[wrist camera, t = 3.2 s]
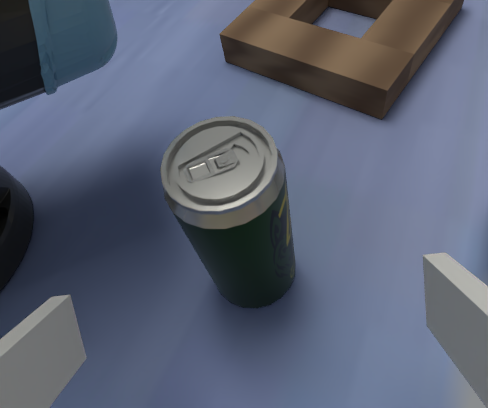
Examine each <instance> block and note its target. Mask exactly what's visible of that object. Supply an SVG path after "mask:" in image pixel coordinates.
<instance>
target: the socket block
mask: <svg viewBox="0 0 488 408" xmlns="http://www.w3.org/2000/svg"><path fill="white" fill-rule="evenodd" d="M463 2H464V0H255V1H254V2H253V3H252V4H251V5H250V6H248V7H247V8H246V9H245V10H244V11H243V12H242V13H241V14H240V15H239V16H238V17H237V18H236V19H235V20H234V21H233V22H232V23H231V24H229V25H228V26H227V27H226V28H225V29H224V30H223V31H222V32H221V33H220V39H221V43H222V47H223V52H224V56H225V60H226V62H228V63H231V64H234V65H237V66H239V67H242V68H245V69H247V70H250V71H253V72H255V73H258V74H261V75H263V76H266V77H269V78H271V79H274V80H277V81H280V82H282V83H285V84H288V85H290V86H293V87H296V88H298V89H301V90H304V91H306V92H309V93H312V94H314V95H317V96H320V97H322V98H325V99H328V100H331V101H333V102H336V103H339V104H341V105H344V106H347V107H349V108H352V109H355V110H357V111H360V112H363V113H365V114H368V115H371V116H374V117H376V118H379V119H383V117H384V116H385V114H386V113H387V112H388V110H389V109H390V107H391V106H392V105H393V103H394V102H395V100H396V99H397V98H398V96H399V95H400V93H401V92H402V91H403V89H404V88H405V86H406V85H407V84H408V82H409V81H410V79H411V78H412V77H413V75H414V74H415V72H416V71H417V70H418V68H419V67H420V65H421V64H422V62H423V61H424V60H425V58H426V57H427V55H428V54H429V53H430V51H431V50H432V48H433V47H434V46H435V44H436V43H437V41H438V40H439V39H440V37H441V36H442V34H443V33H444V32H445V30H446V29H447V27H448V26H449V25H450V23H451V22H452V20H453V19H454V18H455V16H456V15H457V13H458V12H459V11H460V9H461V8H462V5H463ZM328 6H329V7H333V8H337V9H341V10H345V11H348V12H352V13H356V14H360V15H364V16H368V17H371V18H375V19H377V20H376V21H375V22H374V23H373V25H372V26H371V27H370V28H369V29H368V31H367V32H366V33H365V34H364V35H363V37H362V38H361V39H360V38H357V37H353V36H350V35H346V34H343V33H339V32H336V31H333V30H329V29H326V28H322V27H319V26H315V25H312V23H313V22H314V21H315V20H316V19H317V18H318V17H319V16H320V15H321V14H322V12H323V11H324V10H325V9H326V8H327V7H328Z"/></svg>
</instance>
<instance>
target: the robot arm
mask: <svg viewBox="0 0 488 408" xmlns="http://www.w3.org/2000/svg"><path fill="white" fill-rule="evenodd" d="M116 45H117V30H116V26H115V22H114V18H113V14H112V11H111V7H110V4H109V1H108V0H0V110H1V109H3V108H6V107H8V106H11V105H14V104H16V103H19V102H21V101H24V100H27V99H29V98H32V97H34V96H37V95H40V94H42V93H46V94H47V95H50V94H53V93H55V92H56V90H57V88H58V87H59V86H61V85H63V84H65V83H68V82H70V81H72V80H75V79H77V78H79V77H81V76H84V75H86V74H88V73H90V72H93V71H95V70H97V69H99V68H101V67H103V66H104V65H106V64H107V63H108V62H109V60H110V59H111V58H112V56H113V54H114V52H115V49H116ZM32 228H33V207H32V202H31V199H30V197H29V194H28V193H27V191H26V189H25V188H24V187H23V186H22V185H21V183H20V182H18V181H17V180H16V179H15V178H14V177H13V176H12V175H11V174H10V173H9V172H7V171H6V170H5V169H4V168H3V167H1V166H0V290H1V289H2V288H3V287H4V286H5V284H6V283H7V282H8V281H9V279H10V278H11V276H12V275H13V273H14V272H15V270H16V269H17V267H18V265H19V264H20V262H21V260H22V258H23V256H24V254H25V251H26V249H27V246H28V244H29V241H30V237H31V233H32ZM423 268H424V286H425V304H426V322H427V327H428V328H429V330H430V331H431V332H432V334H433V335H434V337H435V338H436V339H437V341H438V342H439V343H440V345H441V346H442V347H443V349H444V350H445V352H446V353H447V354H448V356H449V357H450V358H451V360H452V361H453V362H454V364H455V365H456V367H457V368H458V369H459V371H460V372H461V373H462V375H463V376H464V378H465V379H466V380H467V382H468V383H469V384H470V386H471V387H472V388H473V390H474V391H475V393H476V394H477V395H478V397H479V398H480V399H481V401H482V402H483V403H484V405H485V406H486V408H488V286H487V285H485V284H484V283H483V282H482V281H480V280H479V279H478V278H477V277H475V276H474V275H473V274H472V273H470V272H469V271H468V270H467V269H465V268H464V267H463V266H462V265H460V264H459V263H458V262H457V261H455V260H454V259H453V258H452V257H450V256H449V255H448V254H447V253H437V254H428V255H423ZM86 359H87V357H86V353H85V350H84V346H83V342H82V338H81V334H80V330H79V326H78V323H77V319H76V315H75V311H74V307H73V303H72V299H71V295H62V296H53V297H51V298H49V299H48V300H47V301H46V302H45V303H43V304H42V305H41V306H40V307H39V308H37V309H36V310H35V311H34V312H32V313H31V314H30V315H29V316H28V317H26V318H25V319H24V320H23V321H22V322H20V323H19V324H18V325H17V326H16V327H14V328H13V329H12V330H11V331H10V332H8V333H7V334H6V335H5V336H4V337H2V338H1V339H0V408H49V407H50V406H51V405H52V403H53V402H54V401H55V399H56V398H57V397H58V395H59V394H60V393H61V392H62V390H63V389H64V388H65V386H66V385H67V384H68V382H69V381H70V380H71V378H72V377H73V376H74V374H75V373H76V372H77V370H78V369H79V368H80V366H81V365H82V364H83V363H84V361H85V360H86Z"/></svg>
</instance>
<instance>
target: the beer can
mask: <svg viewBox="0 0 488 408" xmlns="http://www.w3.org/2000/svg"><path fill="white" fill-rule="evenodd" d="M160 171H161V178H162V184H163V189H164V197H165V200H166V202H167V203H168V205H169V207H170V209H171V210H172V212H173V214H174V215H175V217H176V219H177V220H178V222H179V224H180V225H181V227H182V229H183V231H184V232H185V234H186V236H187V237H188V239H189V241H190V242H191V244H192V246H193V247H194V249H195V251H196V252H197V254H198V256H199V257H200V259H201V261H202V263H203V264H204V266H205V268H206V269H207V271H208V273H209V274H210V276H211V278H212V279H213V281H214V283H215V284H216V286H217V288H218V290H219V291H220V293H221V295H223V296H224V297H225V298H226V299H227V300H228V301H230V302H231V303H233V304H236V305H238V306H241V307H243V308H260V307H263V306H267V305H271V304H272V303H274V302H275V301H277V300H278V299H280V298H281V297H282V296H283V295H284V294H285V293H286V292H287V290H288V289H289V288H290V286H291V284H292V281H293V279H294V276H295V256H294V247H293V237H292V228H291V219H290V209H289V200H288V191H287V181H286V172H285V165H284V162H283V159H282V157H281V154H280V151H279V150H278V149H277V148H276V146H275V143H274V140H273V138H272V137H271V135H270V134H269V133H268V132H267V131H266V130H265V129H264V128H263V127H262V126H260V125H258V124H256V123H255V122H253V121H251V120H248V119H244V118H239V117H234V116H230V117H215V118H211V119H208V120H204V121H200V122H198V123H196V124H195V125H193V126H191V127H189V128H187V129H185V130H184V131H183V132H182V133H181V134H179V135H178V136H177V137H176V138H175V139H174V140H173V141H172V142H171V144H170V145H169V147H168V149H167V150H166V152H165V153H164V156H163V160H162V164H161V168H160Z"/></svg>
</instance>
